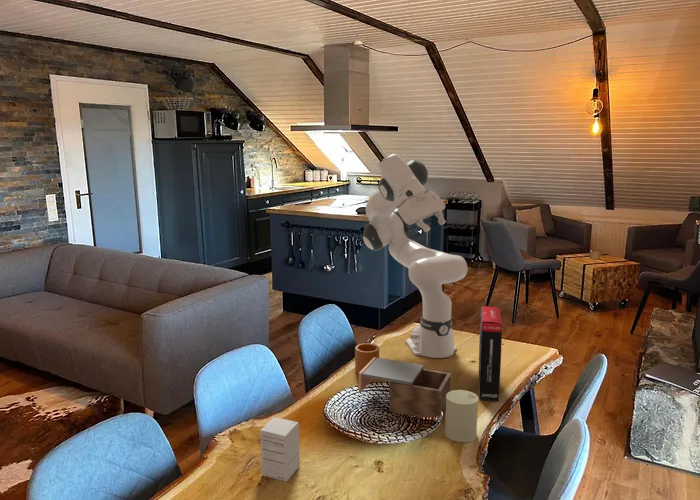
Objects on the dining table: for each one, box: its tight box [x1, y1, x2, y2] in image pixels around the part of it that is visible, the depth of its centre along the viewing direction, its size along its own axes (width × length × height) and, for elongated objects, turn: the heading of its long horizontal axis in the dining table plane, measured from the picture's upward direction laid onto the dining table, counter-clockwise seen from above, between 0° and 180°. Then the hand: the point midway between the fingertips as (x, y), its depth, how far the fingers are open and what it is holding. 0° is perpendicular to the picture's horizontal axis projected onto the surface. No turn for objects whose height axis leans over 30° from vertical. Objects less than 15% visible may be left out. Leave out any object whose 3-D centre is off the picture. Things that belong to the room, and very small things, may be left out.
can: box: [443, 389, 480, 443], centre depth 156 cm, size 9×9×12 cm
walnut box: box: [388, 368, 452, 417], centre depth 172 cm, size 16×14×10 cm
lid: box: [358, 357, 425, 393], centre depth 175 cm, size 17×14×6 cm
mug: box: [354, 342, 380, 374], centre depth 201 cm, size 9×12×9 cm
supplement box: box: [259, 417, 301, 482], centre depth 138 cm, size 7×7×13 cm
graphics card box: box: [478, 305, 503, 402], centre depth 182 cm, size 17×7×27 cm, turn 168°
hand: (435, 227), depth 184 cm, fingers open, 8 cm apart
